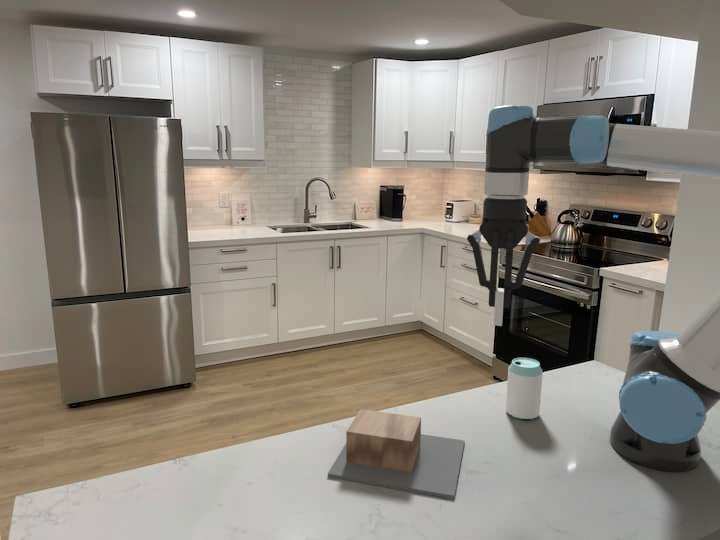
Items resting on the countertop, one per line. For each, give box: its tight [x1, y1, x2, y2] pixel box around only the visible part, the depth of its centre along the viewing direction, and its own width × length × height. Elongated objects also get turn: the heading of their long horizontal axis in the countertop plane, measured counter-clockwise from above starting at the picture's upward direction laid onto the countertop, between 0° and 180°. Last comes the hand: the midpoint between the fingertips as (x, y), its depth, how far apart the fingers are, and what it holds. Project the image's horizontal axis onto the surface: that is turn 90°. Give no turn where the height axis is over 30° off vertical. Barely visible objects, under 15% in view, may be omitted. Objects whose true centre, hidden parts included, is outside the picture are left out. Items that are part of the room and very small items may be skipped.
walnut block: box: [345, 408, 422, 472], centre depth 98 cm, size 6×9×12 cm
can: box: [505, 357, 544, 420], centre depth 114 cm, size 7×7×12 cm
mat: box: [327, 433, 466, 500], centre depth 97 cm, size 22×18×1 cm
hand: (498, 323), depth 98 cm, fingers closed
